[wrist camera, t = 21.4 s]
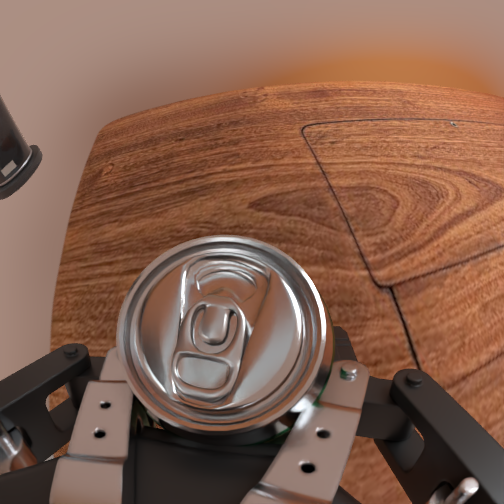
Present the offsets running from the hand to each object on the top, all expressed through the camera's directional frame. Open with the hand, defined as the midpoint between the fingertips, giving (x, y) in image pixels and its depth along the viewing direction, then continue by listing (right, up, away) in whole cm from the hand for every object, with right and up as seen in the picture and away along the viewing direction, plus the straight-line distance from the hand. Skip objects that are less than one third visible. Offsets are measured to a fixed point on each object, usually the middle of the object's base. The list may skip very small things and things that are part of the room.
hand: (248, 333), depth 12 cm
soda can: (0, -5, +4) cm, 6 cm away
